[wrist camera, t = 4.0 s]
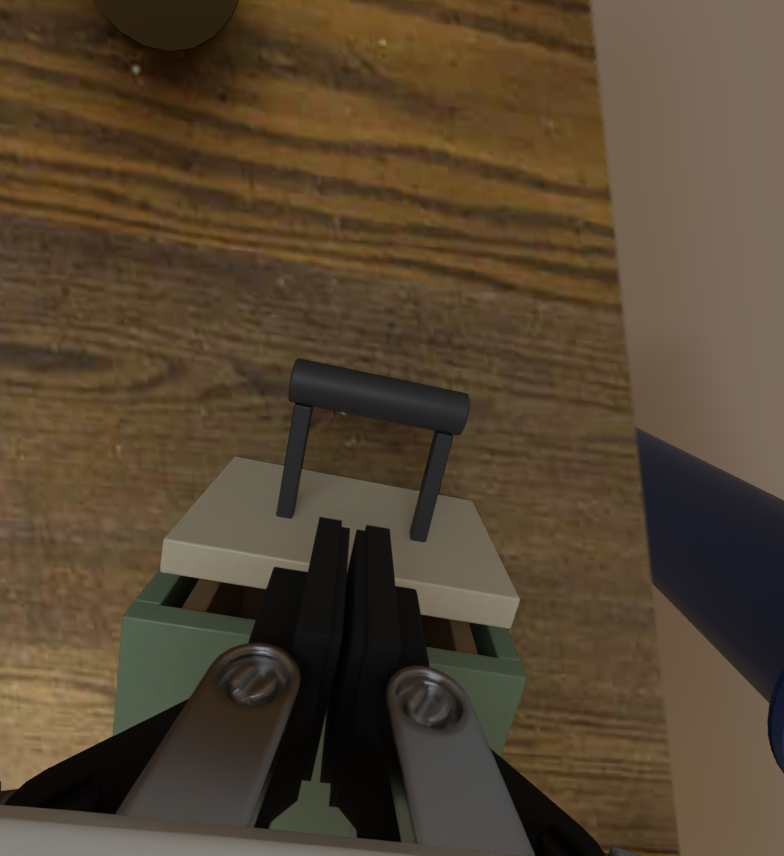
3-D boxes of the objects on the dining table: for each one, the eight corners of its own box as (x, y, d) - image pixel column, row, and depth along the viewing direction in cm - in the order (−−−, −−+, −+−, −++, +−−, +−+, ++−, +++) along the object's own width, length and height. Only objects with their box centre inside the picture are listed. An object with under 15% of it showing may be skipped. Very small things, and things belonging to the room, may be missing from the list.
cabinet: (221, 489, 23) (121, 616, 14) (469, 534, 24) (528, 678, 15) (189, 724, 27) (94, 948, 18) (407, 753, 28) (423, 978, 19)
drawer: (251, 331, 20) (181, 351, 13) (505, 385, 22) (576, 432, 14) (201, 692, 25) (129, 859, 18) (410, 721, 26) (425, 891, 19)
